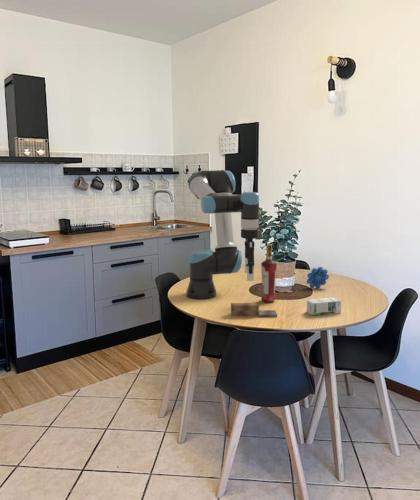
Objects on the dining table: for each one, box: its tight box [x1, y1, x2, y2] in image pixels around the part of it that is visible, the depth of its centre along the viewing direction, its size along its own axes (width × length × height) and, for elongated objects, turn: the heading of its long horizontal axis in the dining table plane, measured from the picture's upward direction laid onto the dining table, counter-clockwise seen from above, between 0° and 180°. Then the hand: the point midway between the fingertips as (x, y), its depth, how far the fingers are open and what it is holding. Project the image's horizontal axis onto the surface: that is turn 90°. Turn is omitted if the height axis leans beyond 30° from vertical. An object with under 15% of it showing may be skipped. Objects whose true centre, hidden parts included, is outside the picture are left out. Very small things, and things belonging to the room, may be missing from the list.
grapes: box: [306, 266, 330, 289], centre depth 237 cm, size 12×7×12 cm, turn 86°
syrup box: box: [306, 296, 342, 316], centre depth 198 cm, size 6×6×14 cm
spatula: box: [230, 302, 278, 318], centre depth 195 cm, size 20×6×5 cm, turn 89°
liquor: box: [260, 243, 278, 304], centre depth 213 cm, size 7×7×28 cm
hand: (249, 276), depth 193 cm, fingers open, 13 cm apart
